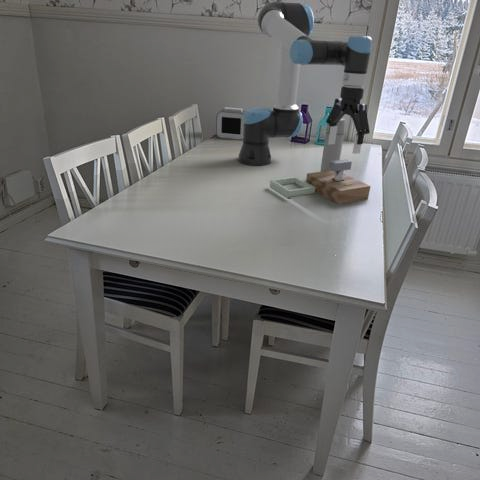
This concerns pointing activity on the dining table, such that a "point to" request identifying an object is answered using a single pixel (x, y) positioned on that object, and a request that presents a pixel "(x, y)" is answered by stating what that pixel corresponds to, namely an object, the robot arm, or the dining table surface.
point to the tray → (285, 192)
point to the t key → (339, 168)
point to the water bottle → (333, 146)
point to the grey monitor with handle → (230, 123)
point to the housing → (338, 187)
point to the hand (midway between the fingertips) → (343, 148)
